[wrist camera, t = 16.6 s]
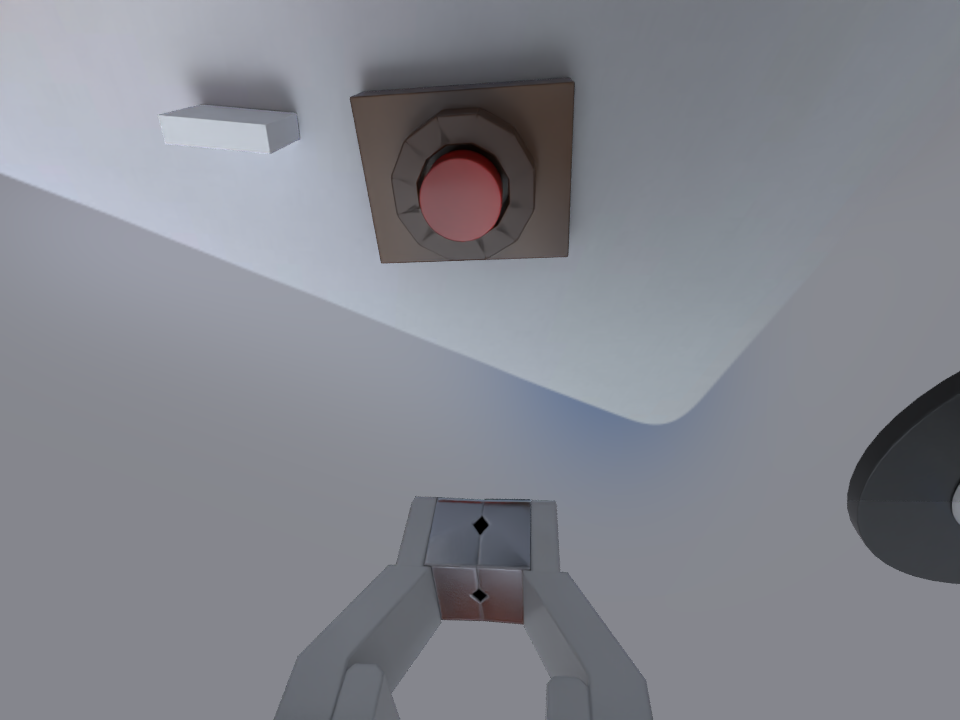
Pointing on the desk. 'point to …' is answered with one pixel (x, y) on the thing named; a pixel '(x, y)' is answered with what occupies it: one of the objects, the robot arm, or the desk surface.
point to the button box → (480, 128)
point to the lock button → (461, 196)
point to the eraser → (230, 128)
